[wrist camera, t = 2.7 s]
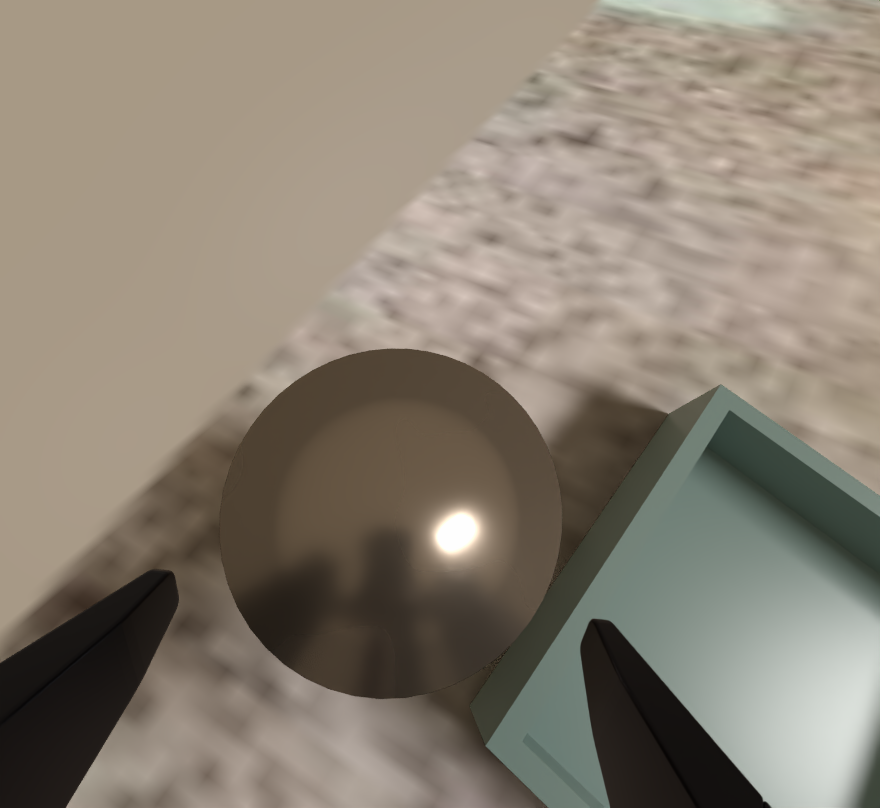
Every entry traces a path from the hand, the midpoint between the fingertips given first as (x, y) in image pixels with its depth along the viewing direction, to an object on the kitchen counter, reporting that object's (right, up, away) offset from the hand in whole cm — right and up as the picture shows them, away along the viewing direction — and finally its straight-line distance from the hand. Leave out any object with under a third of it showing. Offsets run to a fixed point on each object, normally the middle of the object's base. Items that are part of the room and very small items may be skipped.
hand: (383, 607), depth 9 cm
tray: (+14, -7, +8) cm, 17 cm away
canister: (0, -1, +9) cm, 9 cm away
